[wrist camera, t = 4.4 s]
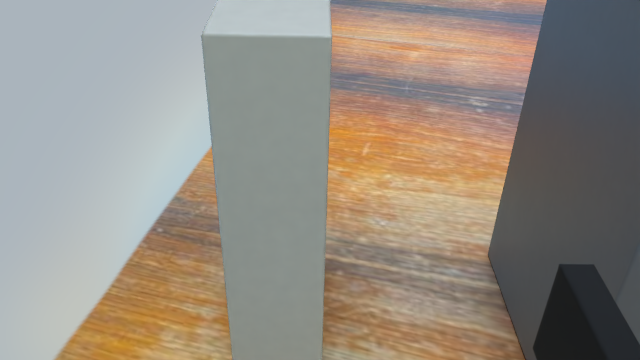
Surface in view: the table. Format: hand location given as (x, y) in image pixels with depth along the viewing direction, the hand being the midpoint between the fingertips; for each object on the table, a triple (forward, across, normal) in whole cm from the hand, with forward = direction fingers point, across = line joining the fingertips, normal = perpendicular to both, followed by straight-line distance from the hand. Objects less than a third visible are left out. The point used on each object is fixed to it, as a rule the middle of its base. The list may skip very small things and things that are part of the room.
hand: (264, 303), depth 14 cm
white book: (+9, 0, -11) cm, 14 cm away
